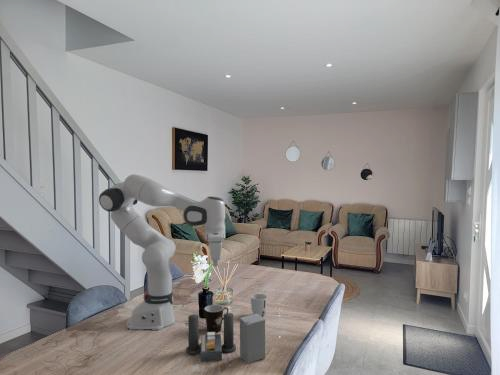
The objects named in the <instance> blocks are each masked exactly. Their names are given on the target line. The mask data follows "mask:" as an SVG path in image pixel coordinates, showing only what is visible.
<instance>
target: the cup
mask: <svg viewBox="0 0 500 375" xmlns="http://www.w3.org/2000/svg"><path fill="white" fill-rule="evenodd" d="M267 304H268V296H267V295H266V294H264V293H255V294H252V295H250V306H251V310H252V311H251V312H252V315H253V314H257V313H258V314H259V315H260V316H261V317H263V318H264V317H265V316H266V315H265V314H266V312H267Z"/></svg>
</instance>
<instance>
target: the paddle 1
mask: <svg viewBox="0 0 500 375" xmlns="http://www.w3.org/2000/svg"><path fill="white" fill-rule="evenodd" d="M215 334H216V333H215V332H208V331H207V334H206V335H207V337H214V336H215Z"/></svg>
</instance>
